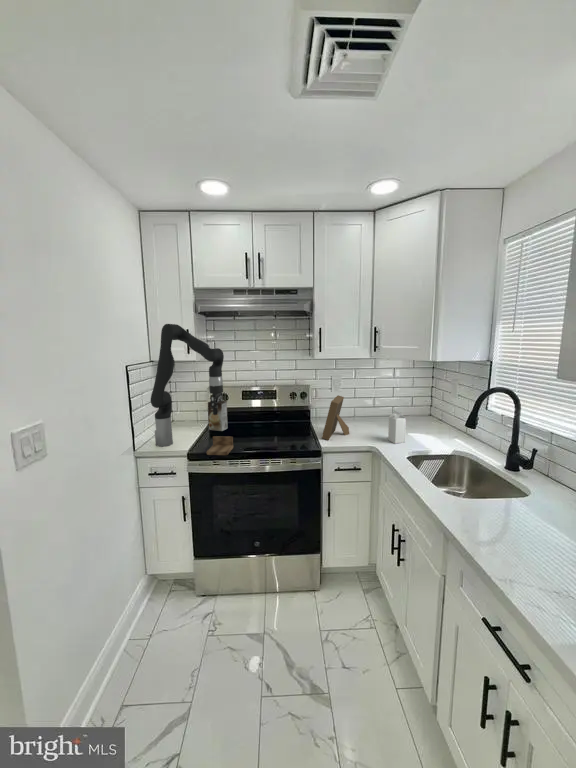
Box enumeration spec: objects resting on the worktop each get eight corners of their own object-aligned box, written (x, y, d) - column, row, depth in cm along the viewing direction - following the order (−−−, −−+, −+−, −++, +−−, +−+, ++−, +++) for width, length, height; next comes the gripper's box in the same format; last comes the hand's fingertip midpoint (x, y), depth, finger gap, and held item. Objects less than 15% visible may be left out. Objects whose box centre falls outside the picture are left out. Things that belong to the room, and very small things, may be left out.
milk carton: (397, 439, 203) (398, 409, 200) (405, 442, 197) (406, 412, 194) (388, 440, 201) (388, 410, 198) (395, 444, 194) (396, 413, 192)
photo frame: (321, 439, 205) (322, 400, 201) (329, 430, 225) (329, 394, 222) (345, 442, 200) (346, 402, 197) (350, 432, 221) (351, 396, 217)
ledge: (206, 454, 183) (206, 442, 182) (213, 447, 195) (213, 436, 194) (227, 455, 182) (226, 443, 181) (233, 447, 194) (232, 436, 193)
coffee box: (208, 429, 184) (206, 402, 182) (214, 426, 190) (213, 400, 188) (222, 431, 181) (221, 403, 179) (228, 428, 187) (227, 400, 185)
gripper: (213, 382, 189) (215, 410, 192) (204, 386, 175) (206, 416, 177) (226, 382, 188) (227, 410, 191) (218, 386, 174) (219, 416, 177)
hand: (217, 412), depth 184 cm, fingers closed on coffee box, 7 cm apart
